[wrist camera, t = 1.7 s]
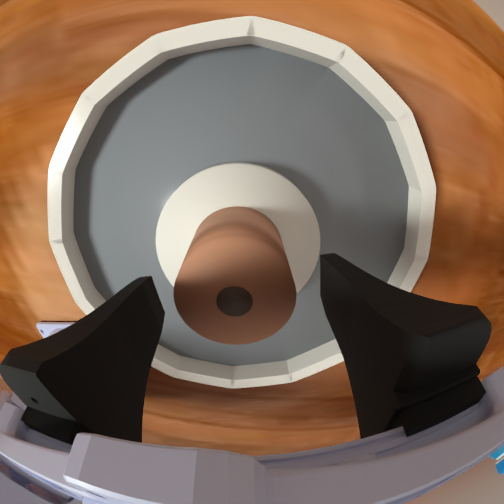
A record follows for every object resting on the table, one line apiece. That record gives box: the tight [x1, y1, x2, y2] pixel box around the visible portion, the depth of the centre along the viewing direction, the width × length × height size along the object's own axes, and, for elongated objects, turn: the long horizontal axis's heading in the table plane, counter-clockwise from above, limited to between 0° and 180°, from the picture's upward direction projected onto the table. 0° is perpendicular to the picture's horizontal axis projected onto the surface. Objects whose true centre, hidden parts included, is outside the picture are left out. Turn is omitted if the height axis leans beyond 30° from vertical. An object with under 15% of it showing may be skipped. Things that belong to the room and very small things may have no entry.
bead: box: [173, 206, 297, 345], centre depth 12 cm, size 5×5×5 cm
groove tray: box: [48, 16, 436, 389], centre depth 16 cm, size 24×24×2 cm
